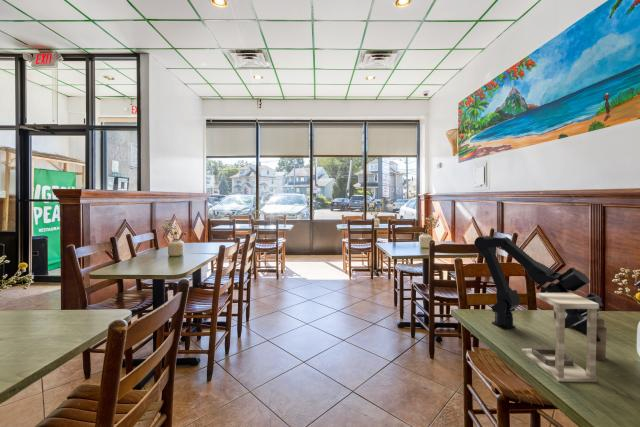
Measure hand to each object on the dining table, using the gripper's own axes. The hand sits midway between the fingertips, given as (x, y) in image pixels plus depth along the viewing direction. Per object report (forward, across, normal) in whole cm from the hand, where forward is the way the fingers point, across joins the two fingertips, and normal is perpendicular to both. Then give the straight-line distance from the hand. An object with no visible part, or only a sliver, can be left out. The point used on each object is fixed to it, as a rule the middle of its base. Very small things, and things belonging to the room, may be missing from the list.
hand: (602, 339), depth 103 cm
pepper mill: (+4, 0, +6) cm, 7 cm away
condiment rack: (0, -17, +9) cm, 20 cm away
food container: (-8, +25, +18) cm, 32 cm away
